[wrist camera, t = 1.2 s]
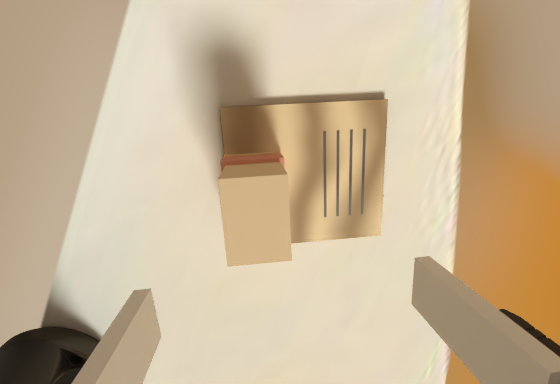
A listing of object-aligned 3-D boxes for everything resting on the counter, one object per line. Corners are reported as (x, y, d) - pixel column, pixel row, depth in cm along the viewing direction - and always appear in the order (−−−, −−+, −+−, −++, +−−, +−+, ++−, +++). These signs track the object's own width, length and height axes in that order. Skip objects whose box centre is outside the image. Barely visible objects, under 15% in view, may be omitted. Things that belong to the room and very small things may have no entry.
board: (234, 246, 33) (234, 248, 33) (220, 107, 29) (219, 107, 28) (379, 233, 35) (381, 235, 34) (385, 99, 30) (387, 99, 30)
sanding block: (231, 225, 32) (222, 272, 22) (223, 155, 30) (210, 173, 20) (284, 221, 32) (298, 265, 23) (280, 151, 30) (294, 167, 21)
